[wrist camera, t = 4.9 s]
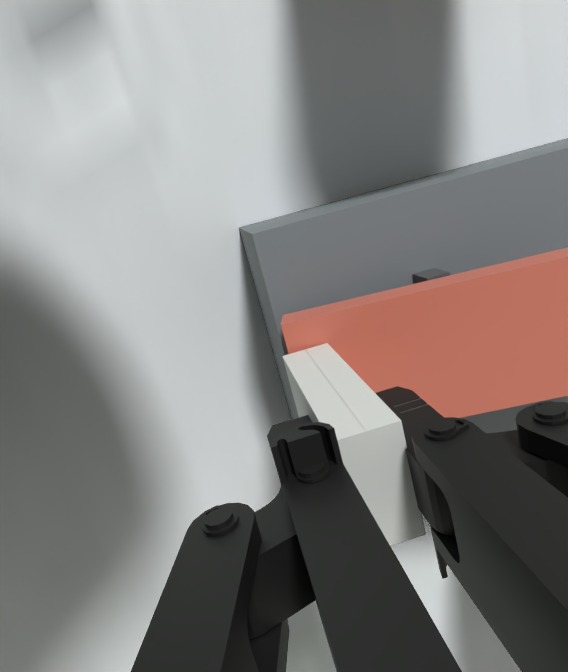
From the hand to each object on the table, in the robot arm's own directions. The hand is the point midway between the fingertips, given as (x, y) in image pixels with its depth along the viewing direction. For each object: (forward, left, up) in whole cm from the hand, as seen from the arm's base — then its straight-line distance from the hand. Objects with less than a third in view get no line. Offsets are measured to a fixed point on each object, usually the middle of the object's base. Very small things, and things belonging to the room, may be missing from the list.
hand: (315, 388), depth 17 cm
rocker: (+5, 0, 0) cm, 5 cm away
